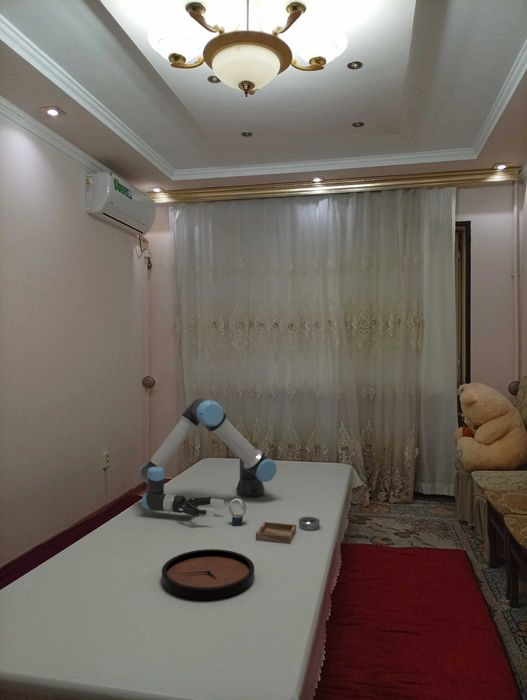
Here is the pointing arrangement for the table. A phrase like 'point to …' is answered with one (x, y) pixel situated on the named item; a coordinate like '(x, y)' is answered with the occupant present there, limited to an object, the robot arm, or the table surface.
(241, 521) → the watch
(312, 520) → the round socket
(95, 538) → the table surface
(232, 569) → the wall clock
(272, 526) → the rect wooden tray
